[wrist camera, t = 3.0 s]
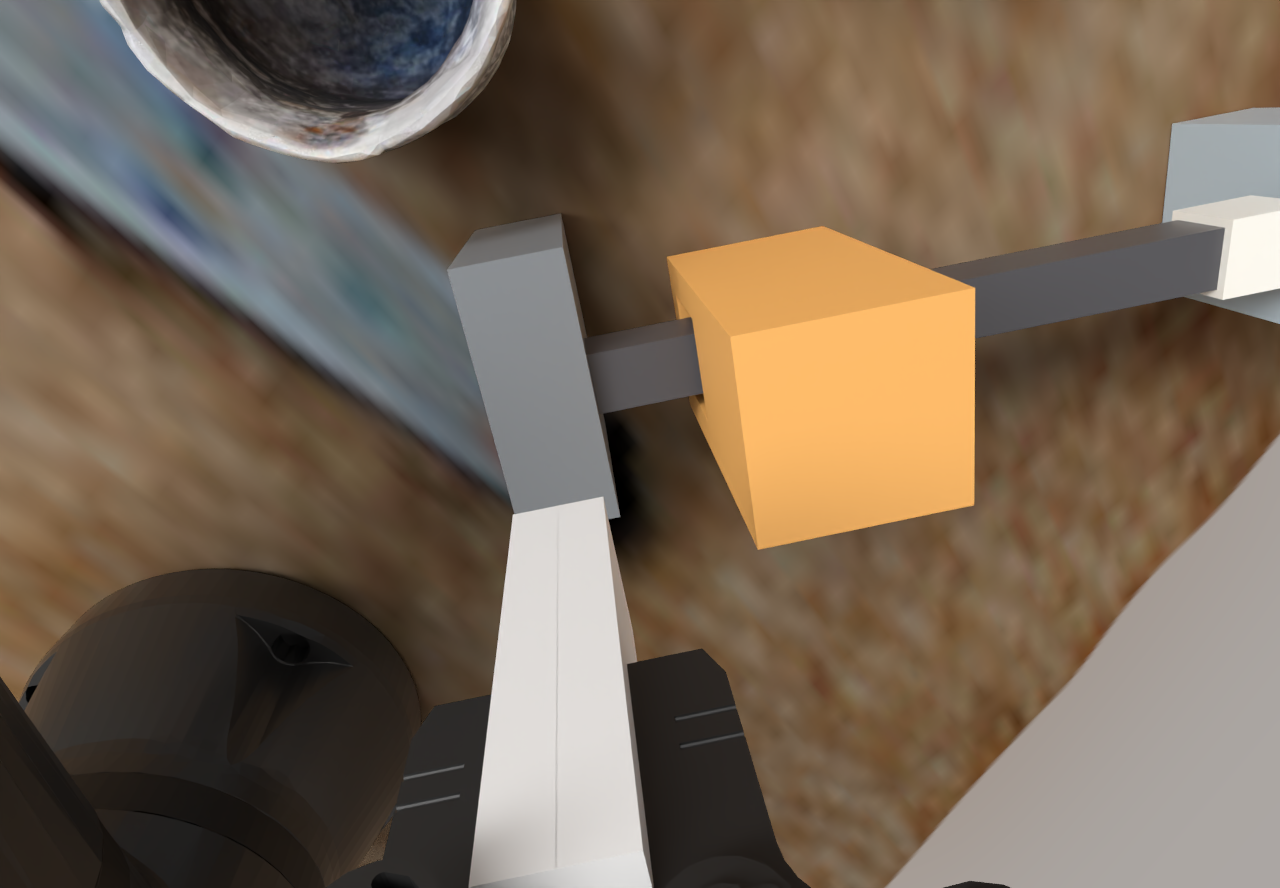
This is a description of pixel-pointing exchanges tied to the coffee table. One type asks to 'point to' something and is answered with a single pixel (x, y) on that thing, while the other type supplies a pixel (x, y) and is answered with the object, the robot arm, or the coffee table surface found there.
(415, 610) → the coffee table surface
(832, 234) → the orange sliding sleeve
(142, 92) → the coffee table surface
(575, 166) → the coffee table surface
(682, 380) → the rail rig
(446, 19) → the mug
